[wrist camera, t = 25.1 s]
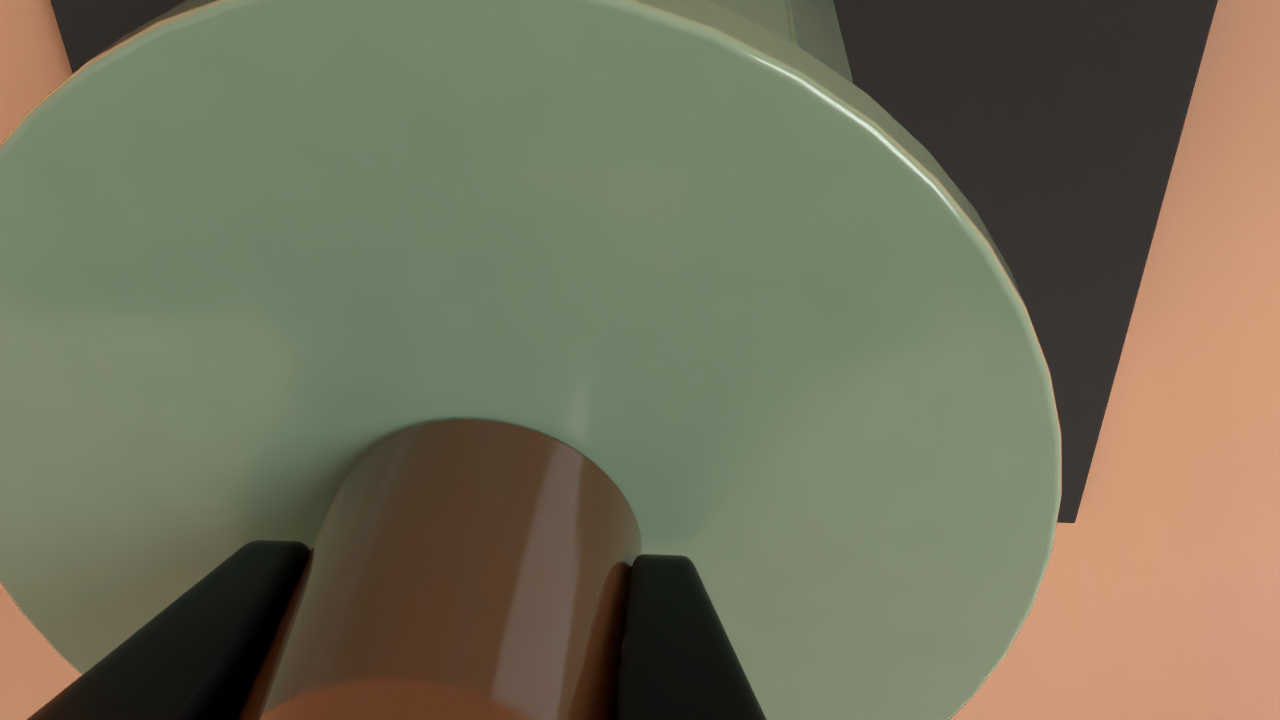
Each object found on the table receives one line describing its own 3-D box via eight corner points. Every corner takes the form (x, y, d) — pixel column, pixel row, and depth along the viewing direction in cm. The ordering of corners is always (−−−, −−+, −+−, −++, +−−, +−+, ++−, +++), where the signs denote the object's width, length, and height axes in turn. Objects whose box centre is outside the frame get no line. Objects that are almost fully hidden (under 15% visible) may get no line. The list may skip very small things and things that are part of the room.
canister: (580, 314, 21) (480, 798, 12) (305, 9, 18) (-65, 374, 9) (917, 103, 18) (1074, 540, 10) (656, -297, 15) (565, -158, 7)
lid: (957, 826, 11) (1063, 1402, 8) (131, 784, 12) (-131, 1305, 8) (1173, -54, 7) (1722, 383, 3) (-231, -61, 7) (-1233, 304, 3)
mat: (1071, 513, 23) (1075, 523, 23) (206, 483, 24) (200, 493, 24) (1465, -947, 12) (1481, -960, 11) (-204, -874, 13) (-222, -883, 12)
